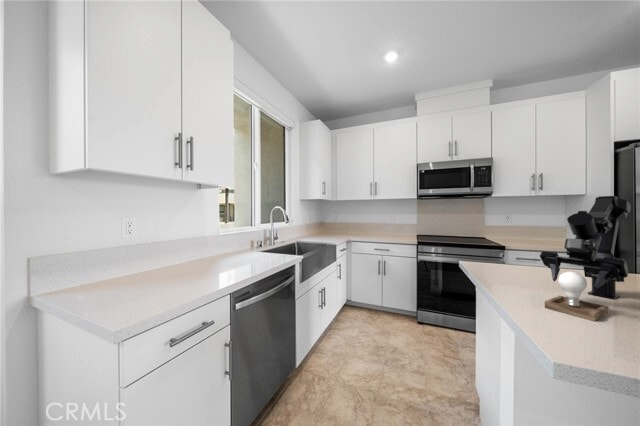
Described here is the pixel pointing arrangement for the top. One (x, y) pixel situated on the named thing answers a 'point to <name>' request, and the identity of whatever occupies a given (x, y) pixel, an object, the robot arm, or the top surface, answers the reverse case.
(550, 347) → the top surface
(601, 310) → the walnut tray
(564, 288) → the lightbulb
